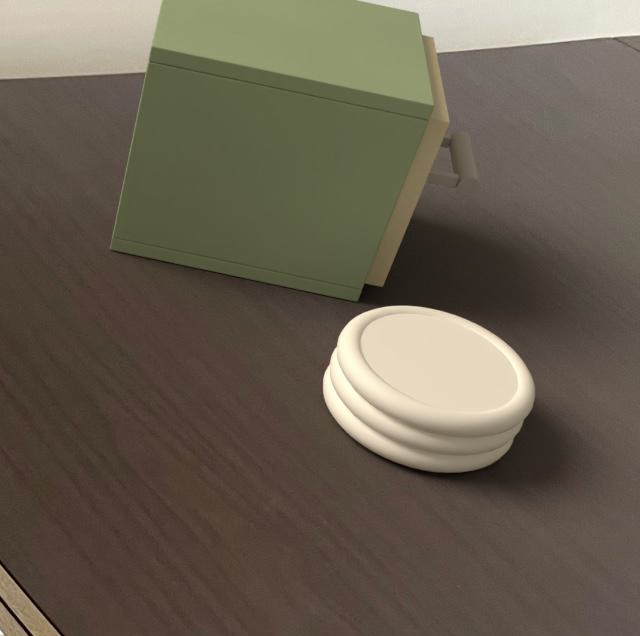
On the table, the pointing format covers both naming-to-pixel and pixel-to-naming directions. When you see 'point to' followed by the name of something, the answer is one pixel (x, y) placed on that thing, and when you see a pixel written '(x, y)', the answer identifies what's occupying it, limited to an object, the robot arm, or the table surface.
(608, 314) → the table surface
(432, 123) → the drawer
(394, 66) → the cabinet
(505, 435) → the cream round stack
